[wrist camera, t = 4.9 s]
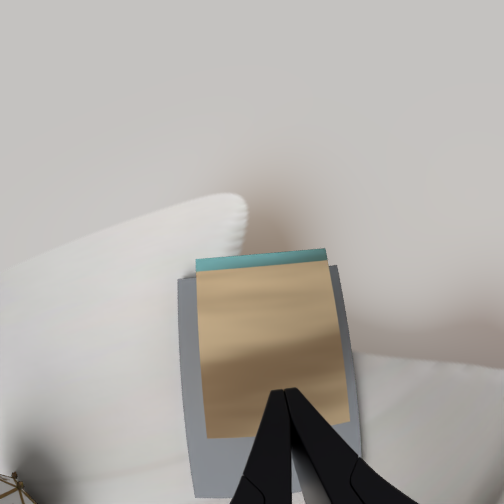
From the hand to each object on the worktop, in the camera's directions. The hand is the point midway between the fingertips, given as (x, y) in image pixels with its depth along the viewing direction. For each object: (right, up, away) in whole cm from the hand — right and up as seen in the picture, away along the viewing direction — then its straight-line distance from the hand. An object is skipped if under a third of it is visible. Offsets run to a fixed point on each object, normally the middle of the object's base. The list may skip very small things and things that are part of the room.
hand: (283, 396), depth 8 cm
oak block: (0, -4, +4) cm, 5 cm away
